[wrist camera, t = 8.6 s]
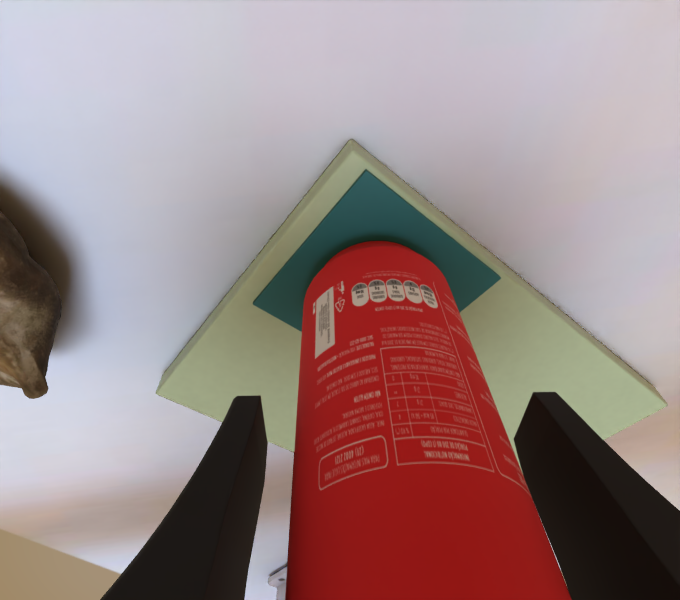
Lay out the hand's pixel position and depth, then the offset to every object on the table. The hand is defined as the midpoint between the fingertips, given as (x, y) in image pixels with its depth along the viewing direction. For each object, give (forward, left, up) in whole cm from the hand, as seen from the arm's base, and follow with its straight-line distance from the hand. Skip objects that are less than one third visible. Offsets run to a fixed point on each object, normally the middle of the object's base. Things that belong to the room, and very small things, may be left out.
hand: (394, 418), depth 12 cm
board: (-3, -6, -7) cm, 10 cm away
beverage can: (0, 0, -6) cm, 6 cm away
